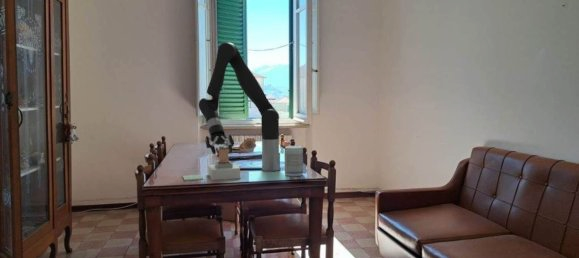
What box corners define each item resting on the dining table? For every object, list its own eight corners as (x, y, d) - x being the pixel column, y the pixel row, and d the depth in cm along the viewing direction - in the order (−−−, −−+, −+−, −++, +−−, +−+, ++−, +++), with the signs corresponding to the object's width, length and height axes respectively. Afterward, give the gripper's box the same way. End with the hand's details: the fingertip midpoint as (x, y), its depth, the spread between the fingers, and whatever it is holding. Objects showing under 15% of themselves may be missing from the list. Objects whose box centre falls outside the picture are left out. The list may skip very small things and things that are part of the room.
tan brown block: (227, 165, 218) (227, 146, 217) (229, 167, 214) (228, 147, 213) (218, 166, 217) (218, 146, 216) (220, 167, 212) (219, 147, 211)
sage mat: (201, 175, 216) (201, 174, 216) (203, 179, 208) (203, 178, 208) (182, 177, 214) (182, 175, 214) (184, 180, 205) (184, 179, 205)
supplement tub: (306, 175, 218) (306, 147, 217) (291, 177, 213) (291, 148, 211) (296, 172, 226) (296, 145, 225) (281, 174, 221) (281, 146, 219)
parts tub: (238, 172, 225) (237, 159, 224) (243, 177, 212) (243, 164, 212) (208, 174, 220) (208, 161, 219) (211, 179, 207) (211, 165, 207)
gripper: (203, 124, 218) (211, 149, 209) (230, 123, 225) (238, 147, 216) (201, 133, 223) (207, 158, 214) (226, 132, 230) (234, 156, 221)
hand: (223, 153), depth 215 cm, fingers open, 8 cm apart
